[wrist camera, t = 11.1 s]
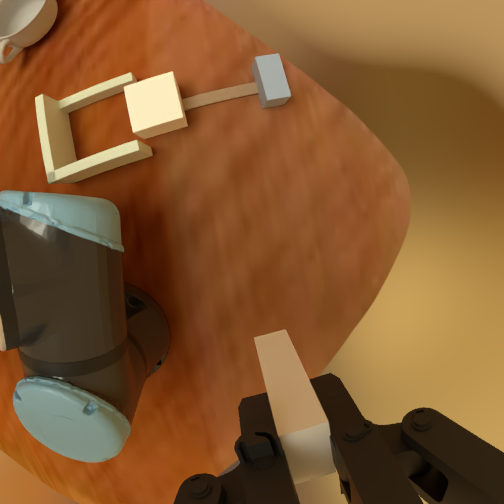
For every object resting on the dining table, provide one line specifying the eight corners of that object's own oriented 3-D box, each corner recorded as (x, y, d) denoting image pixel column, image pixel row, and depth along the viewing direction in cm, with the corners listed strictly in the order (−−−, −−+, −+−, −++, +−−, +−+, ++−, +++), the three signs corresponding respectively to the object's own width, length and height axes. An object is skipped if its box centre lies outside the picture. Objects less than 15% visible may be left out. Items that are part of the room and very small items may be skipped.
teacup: (32, -2, 31) (12, -21, 23) (77, 1, 33) (59, -22, 25) (-6, 68, 33) (-33, 56, 25) (36, 76, 35) (9, 61, 27)
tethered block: (144, 139, 39) (133, 132, 33) (135, 98, 38) (123, 86, 32) (284, 104, 40) (294, 92, 34) (272, 65, 39) (280, 48, 33)
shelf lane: (74, 182, 39) (48, 183, 32) (60, 108, 37) (34, 97, 29) (152, 155, 40) (139, 149, 32) (136, 79, 37) (121, 60, 30)
